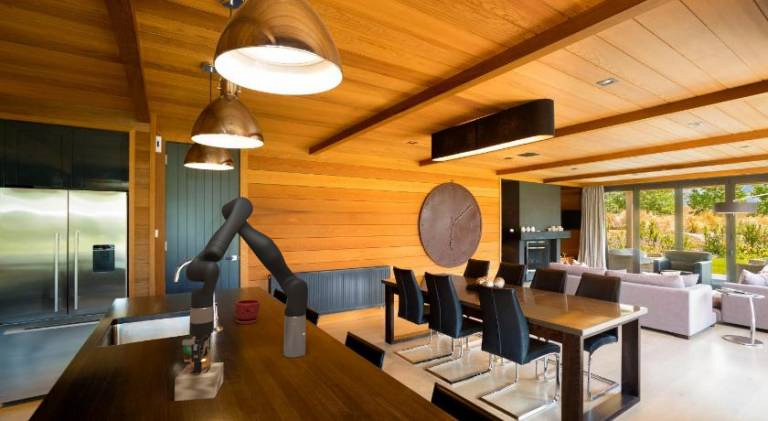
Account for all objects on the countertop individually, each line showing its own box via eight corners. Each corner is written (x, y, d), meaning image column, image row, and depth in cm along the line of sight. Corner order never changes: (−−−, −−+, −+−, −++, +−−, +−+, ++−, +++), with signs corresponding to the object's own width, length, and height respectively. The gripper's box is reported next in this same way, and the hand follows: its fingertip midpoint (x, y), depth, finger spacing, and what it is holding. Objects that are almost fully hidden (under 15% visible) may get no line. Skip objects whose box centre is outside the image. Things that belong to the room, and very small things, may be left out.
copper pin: (213, 380, 128) (213, 353, 128) (207, 389, 121) (208, 360, 122) (193, 382, 126) (194, 354, 127) (187, 390, 120) (187, 361, 120)
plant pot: (254, 325, 202) (255, 304, 202) (231, 325, 202) (231, 303, 202) (262, 319, 215) (263, 299, 215) (240, 319, 215) (241, 298, 215)
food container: (194, 366, 145) (195, 341, 145) (181, 364, 146) (182, 339, 146) (215, 355, 157) (215, 331, 157) (202, 354, 158) (203, 330, 158)
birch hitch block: (223, 381, 131) (223, 362, 131) (214, 397, 119) (214, 376, 119) (187, 384, 128) (187, 364, 129) (174, 401, 117) (175, 379, 117)
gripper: (207, 324, 118) (206, 376, 118) (218, 313, 132) (217, 359, 132) (182, 325, 117) (181, 378, 116) (196, 314, 131) (195, 361, 130)
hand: (200, 368), depth 124 cm, fingers closed on copper pin, 6 cm apart
